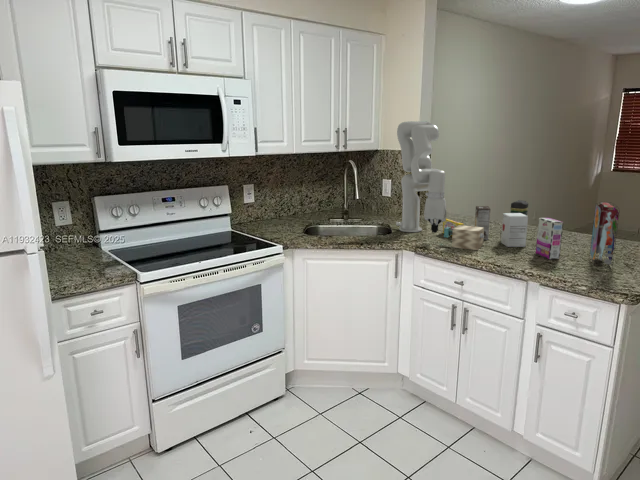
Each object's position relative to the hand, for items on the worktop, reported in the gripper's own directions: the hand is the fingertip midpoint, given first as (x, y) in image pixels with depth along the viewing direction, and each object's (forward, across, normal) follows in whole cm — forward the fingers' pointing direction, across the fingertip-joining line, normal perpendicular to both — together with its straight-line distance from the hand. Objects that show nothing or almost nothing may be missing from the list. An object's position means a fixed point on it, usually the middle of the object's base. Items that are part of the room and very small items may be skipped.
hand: (434, 232), depth 226 cm
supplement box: (+5, +35, +13) cm, 38 cm away
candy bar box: (+5, +52, -2) cm, 52 cm away
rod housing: (+5, +17, -1) cm, 18 cm away
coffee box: (+6, +18, +21) cm, 29 cm away
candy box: (+6, +4, +19) cm, 20 cm away
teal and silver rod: (+1, +15, -1) cm, 15 cm away
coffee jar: (+6, +33, +35) cm, 49 cm away
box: (+5, +71, 0) cm, 71 cm away
